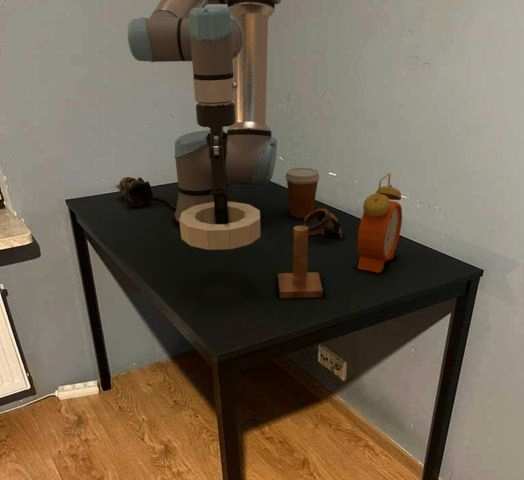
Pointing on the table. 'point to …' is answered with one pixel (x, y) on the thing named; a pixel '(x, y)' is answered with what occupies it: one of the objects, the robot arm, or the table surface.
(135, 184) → the figurine
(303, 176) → the disposable coffee cup
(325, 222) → the pottery mug
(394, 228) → the alarm clock
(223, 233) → the ring
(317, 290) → the stand
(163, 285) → the table surface
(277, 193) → the table surface
